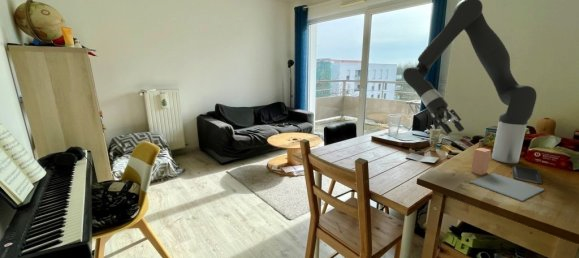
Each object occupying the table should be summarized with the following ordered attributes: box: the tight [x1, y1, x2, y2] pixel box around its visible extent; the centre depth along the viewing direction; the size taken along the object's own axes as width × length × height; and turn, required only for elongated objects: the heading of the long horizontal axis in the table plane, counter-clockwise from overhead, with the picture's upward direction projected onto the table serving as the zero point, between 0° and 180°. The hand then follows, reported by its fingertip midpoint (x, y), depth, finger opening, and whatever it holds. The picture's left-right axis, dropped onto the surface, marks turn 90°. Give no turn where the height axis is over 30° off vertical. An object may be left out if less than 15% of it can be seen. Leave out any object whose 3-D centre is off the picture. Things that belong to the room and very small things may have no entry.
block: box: [470, 147, 492, 176], centre depth 98 cm, size 4×4×10 cm
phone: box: [511, 165, 543, 185], centre depth 96 cm, size 8×1×15 cm
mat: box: [469, 172, 546, 202], centre depth 88 cm, size 16×15×1 cm
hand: (456, 131), depth 105 cm, fingers open, 8 cm apart
